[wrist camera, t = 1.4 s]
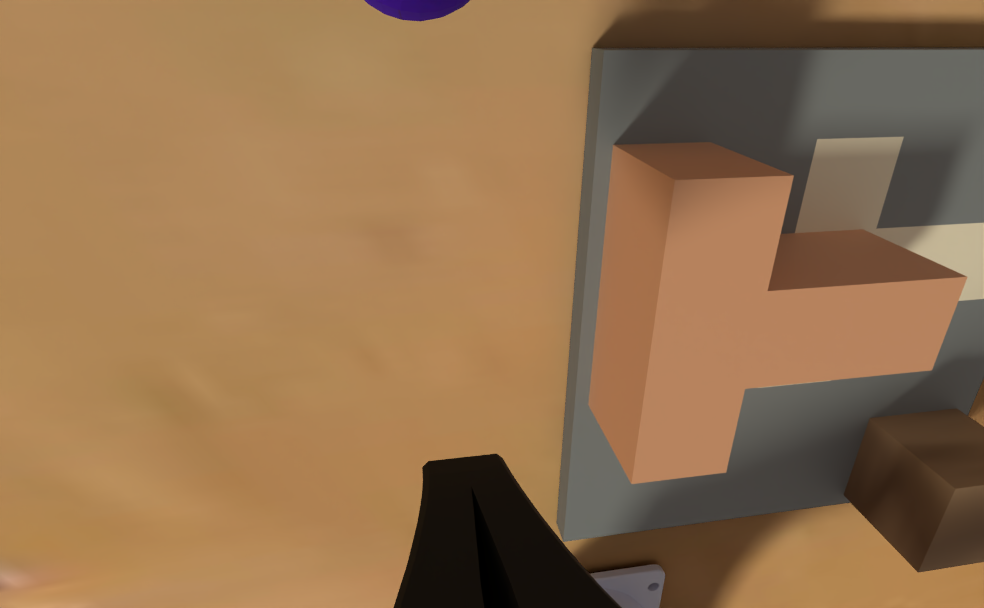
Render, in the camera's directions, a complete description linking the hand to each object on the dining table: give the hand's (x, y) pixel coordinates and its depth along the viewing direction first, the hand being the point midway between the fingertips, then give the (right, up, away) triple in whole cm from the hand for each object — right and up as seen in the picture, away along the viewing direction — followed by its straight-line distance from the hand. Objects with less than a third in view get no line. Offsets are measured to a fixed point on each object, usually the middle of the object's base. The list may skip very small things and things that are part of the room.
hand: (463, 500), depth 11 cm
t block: (+8, +4, +9) cm, 13 cm away
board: (+12, +3, +11) cm, 17 cm away
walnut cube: (+17, -3, +14) cm, 23 cm away
